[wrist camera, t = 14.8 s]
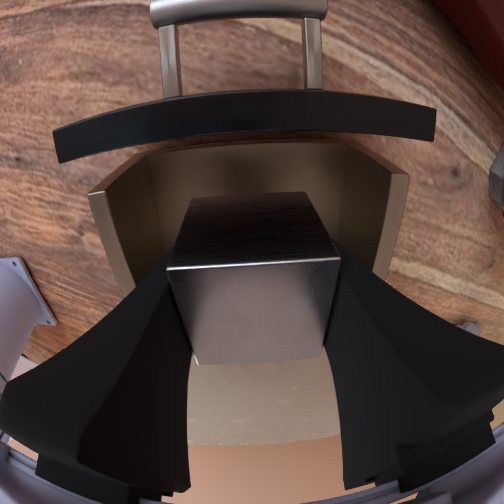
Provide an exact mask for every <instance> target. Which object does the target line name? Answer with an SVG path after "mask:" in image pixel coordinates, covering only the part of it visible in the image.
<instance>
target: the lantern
mask: <svg viewBox="0 0 504 504" xmlns="http://www.w3.org/2000/svg"><path fill="white" fill-rule="evenodd" d="M489 195H490V197H491V198H492V199H493V201H494V202H495V204H496V205H497V206H498V208H499V209H500V210H501V211H502V214H503V217H504V143H503V145H502V147H501V149H500V151H499V153H498V155H497V157H496V159H495V161H494V163H493V165H492V167H491V169H490V189H489Z"/></svg>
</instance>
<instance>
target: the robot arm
mask: <svg viewBox="0 0 504 504" xmlns="http://www.w3.org/2000/svg"><path fill="white" fill-rule="evenodd" d="M331 239H332V238H331ZM332 241H333V243H334V245H335V247H336V249H337V251H338V253H339V255H340V257H341V261H340V267H339V273H338V278H337V284H336V289H335V294H334V299H333V304H332V308H331V313H330V317H329V322H328V326H327V331H326V335H325V339H324V343H323V344H324V347H325V350H326V354H327V357H328V360H329V363H330V367H331V371H332V376H333V381H334V387H335V393H336V399H337V406H338V414H339V421H340V431H341V442H342V454H343V455H342V457H343V481H344V487H345V490H348V489H352V488H357V487H360V486H364V485H367V484H371V483H374V482H375V485H376V487H373V488H370V489H367V490H364V491H360V492H356V493H353V494H348V495H344V496H340V497H335V498H330V499H325V500H320V501H315V502H309V503H302V504H390V503H392V502H395V501H398V500H400V499H403V498H405V497H408V496H410V495H412V494H415V493H417V492H418V494H417V496H416V498H415V499H412V500H409V501H405V502H402V503H398V504H504V422H503V423H501V424H500V425H499V426H497V427H496V428H494V429H493V430H492V429H491V426H490V424H489V423H490V422H491V421H493V420H494V415H493V412H492V410H491V409H493V408H494V407H495V406H496V405H497V404H498V403H500V402H501V401H502V400H503V399H504V345H501V344H498V343H496V342H493V341H490V340H487V339H484V338H482V337H479V336H477V335H475V334H473V333H471V332H468V331H466V330H464V329H462V328H460V327H458V326H456V325H454V324H452V323H450V322H448V321H446V320H444V319H442V318H440V317H439V316H437V315H435V314H433V313H431V312H430V311H428V310H426V309H425V308H423V307H421V306H420V305H418V304H417V303H415V302H414V301H412V300H410V299H409V298H407V297H406V296H404V295H403V294H401V293H400V292H399V291H397V290H396V289H394V288H393V287H392V286H390V285H389V284H388V283H386V282H385V281H384V280H382V279H381V278H380V277H378V276H377V275H376V274H374V273H373V272H372V271H371V270H369V269H368V268H367V267H366V266H365V265H363V264H362V263H361V262H360V261H358V260H357V259H356V258H355V257H354V256H353V255H351V254H350V253H349V252H348V251H347V250H345V249H344V248H343V247H342V246H341V245H339V244H338V243H337V242H336V241H334V240H333V239H332ZM172 249H173V247H172V248H171V249H170V250H169V251H168V252H167V253H166V254H165V256H164V257H163V258H162V259H161V260H160V261H159V262H158V263H157V264H156V265H155V267H154V268H153V269H152V270H151V271H150V272H149V273H148V274H147V275H146V276H145V278H144V279H143V280H142V281H141V282H140V283H139V284H138V285H137V286H136V287H135V288H134V289H133V290H132V291H131V292H130V293H129V294H128V295H127V296H126V297H125V298H124V299H123V300H122V301H121V302H120V303H119V304H118V305H117V306H116V307H115V308H114V309H113V310H112V311H111V312H110V313H109V314H108V315H106V316H105V317H104V318H103V319H102V320H101V321H99V322H98V323H97V324H96V325H95V326H94V327H92V328H91V329H90V330H89V331H87V332H86V333H85V334H83V335H82V336H81V337H79V338H78V339H77V340H75V341H74V342H73V343H72V344H70V345H69V346H67V347H66V348H65V349H63V350H62V351H60V352H59V353H57V354H56V355H54V356H53V357H51V358H50V359H48V360H46V361H45V362H43V363H42V364H40V365H38V366H37V367H35V368H33V369H31V370H29V371H27V372H26V373H24V374H22V375H20V376H18V377H16V378H14V379H12V380H10V378H11V375H12V373H13V371H14V368H15V366H16V364H17V362H18V360H19V357H20V355H21V353H22V351H23V349H24V347H25V345H26V343H27V341H28V339H29V337H30V335H31V333H32V331H33V329H34V328H35V326H36V324H42V325H51V326H56V324H57V320H56V319H55V317H54V316H53V314H52V312H51V311H50V309H49V308H48V306H47V304H46V303H45V301H44V299H43V298H42V296H41V294H40V292H39V291H38V289H37V287H36V285H35V283H34V282H33V280H32V278H31V276H30V274H29V272H28V270H27V268H26V266H25V264H24V262H23V260H22V259H21V258H20V257H10V258H0V504H172V503H165V502H161V497H162V496H169V497H172V496H173V492H178V493H183V492H185V491H186V490H188V489H189V488H190V487H191V483H190V473H189V461H188V440H187V399H188V380H189V371H190V365H191V359H192V353H193V351H192V348H191V346H190V343H189V340H188V337H187V334H186V331H185V328H184V325H183V322H182V319H181V316H180V313H179V310H178V307H177V304H176V301H175V298H174V295H173V291H172V288H171V285H170V281H169V278H168V274H167V271H166V267H167V264H168V261H169V258H170V255H171V252H172ZM9 380H10V381H9ZM12 438H13V439H15V440H16V441H18V442H20V443H21V444H23V445H24V446H26V447H28V448H29V449H31V450H33V451H34V452H36V453H38V454H39V455H38V460H37V461H35V460H33V459H31V458H29V457H27V456H26V455H24V454H22V453H20V452H18V451H17V450H15V449H13V448H11V447H10V446H9V445H8V444H9V442H10V441H11V439H12Z"/></svg>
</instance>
